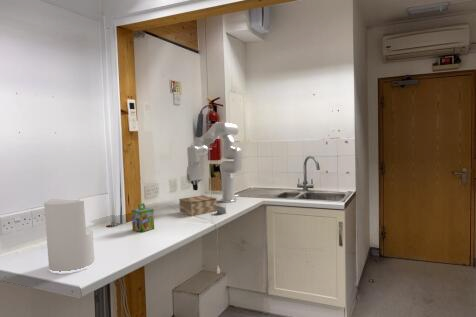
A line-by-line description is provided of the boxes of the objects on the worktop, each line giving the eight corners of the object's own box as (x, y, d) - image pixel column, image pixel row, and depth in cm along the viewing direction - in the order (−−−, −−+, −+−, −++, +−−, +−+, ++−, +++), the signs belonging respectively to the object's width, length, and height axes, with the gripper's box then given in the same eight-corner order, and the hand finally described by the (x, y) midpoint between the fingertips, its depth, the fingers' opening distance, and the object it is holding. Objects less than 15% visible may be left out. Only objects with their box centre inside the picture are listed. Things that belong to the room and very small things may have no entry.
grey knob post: (222, 211, 238) (222, 204, 238) (227, 213, 233) (227, 205, 233) (215, 213, 234) (214, 206, 234) (220, 214, 230) (220, 207, 229)
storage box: (203, 207, 254) (203, 196, 253) (216, 211, 241) (216, 199, 241) (179, 212, 241) (179, 201, 241) (192, 216, 229) (191, 204, 228)
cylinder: (71, 276, 135) (66, 205, 133) (39, 271, 141) (33, 203, 139) (103, 260, 151) (99, 197, 149) (73, 257, 157) (69, 195, 155)
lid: (203, 196, 253) (203, 195, 253) (216, 199, 241) (216, 198, 241) (179, 200, 240) (179, 199, 240) (191, 204, 228) (191, 202, 228)
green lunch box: (141, 232, 194) (140, 206, 192) (131, 230, 199) (130, 204, 198) (155, 228, 201) (153, 203, 200) (145, 226, 206) (143, 201, 205)
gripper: (199, 162, 249) (201, 187, 251) (181, 165, 240) (183, 191, 242) (205, 163, 244) (207, 188, 245) (187, 165, 234) (189, 192, 236)
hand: (195, 190), depth 244 cm, fingers closed
